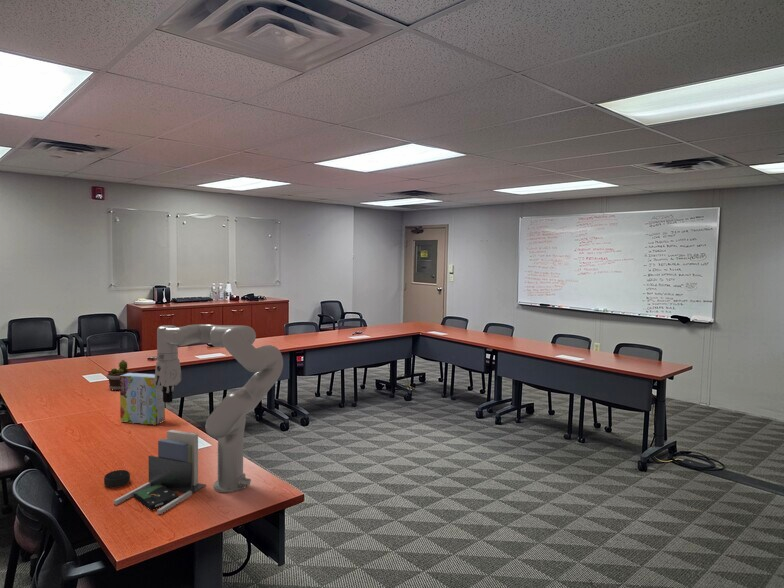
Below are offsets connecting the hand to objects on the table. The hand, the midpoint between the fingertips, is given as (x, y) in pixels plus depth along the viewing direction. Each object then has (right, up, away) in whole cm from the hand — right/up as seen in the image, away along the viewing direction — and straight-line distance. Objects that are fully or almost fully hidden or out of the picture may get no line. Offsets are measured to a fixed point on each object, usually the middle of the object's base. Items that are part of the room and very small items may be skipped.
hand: (167, 401), depth 203 cm
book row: (+6, -32, -6) cm, 33 cm away
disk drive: (+3, -33, -16) cm, 37 cm away
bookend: (+6, -32, -5) cm, 33 cm away
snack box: (-44, -26, +69) cm, 86 cm away
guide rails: (+2, -32, -17) cm, 37 cm away
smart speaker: (-18, -31, -4) cm, 36 cm away
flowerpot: (-91, -20, +133) cm, 163 cm away
